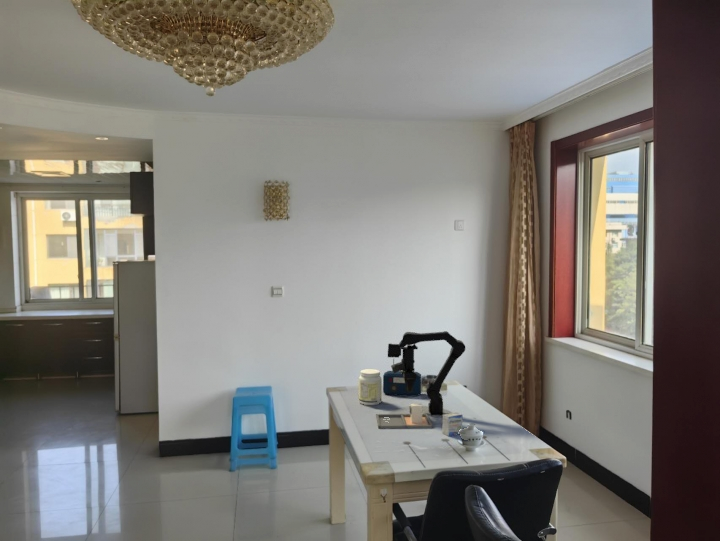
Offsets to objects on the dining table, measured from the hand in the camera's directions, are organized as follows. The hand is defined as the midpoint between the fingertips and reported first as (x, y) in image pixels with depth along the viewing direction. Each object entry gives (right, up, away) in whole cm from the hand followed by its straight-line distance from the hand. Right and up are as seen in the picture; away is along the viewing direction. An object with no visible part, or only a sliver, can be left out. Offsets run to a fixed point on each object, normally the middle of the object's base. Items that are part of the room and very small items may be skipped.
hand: (408, 388), depth 264 cm
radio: (0, -11, +34) cm, 35 cm away
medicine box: (+17, -14, -30) cm, 37 cm away
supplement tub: (-19, -12, +17) cm, 28 cm away
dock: (-3, -13, -15) cm, 20 cm away
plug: (+3, -12, -15) cm, 20 cm away
